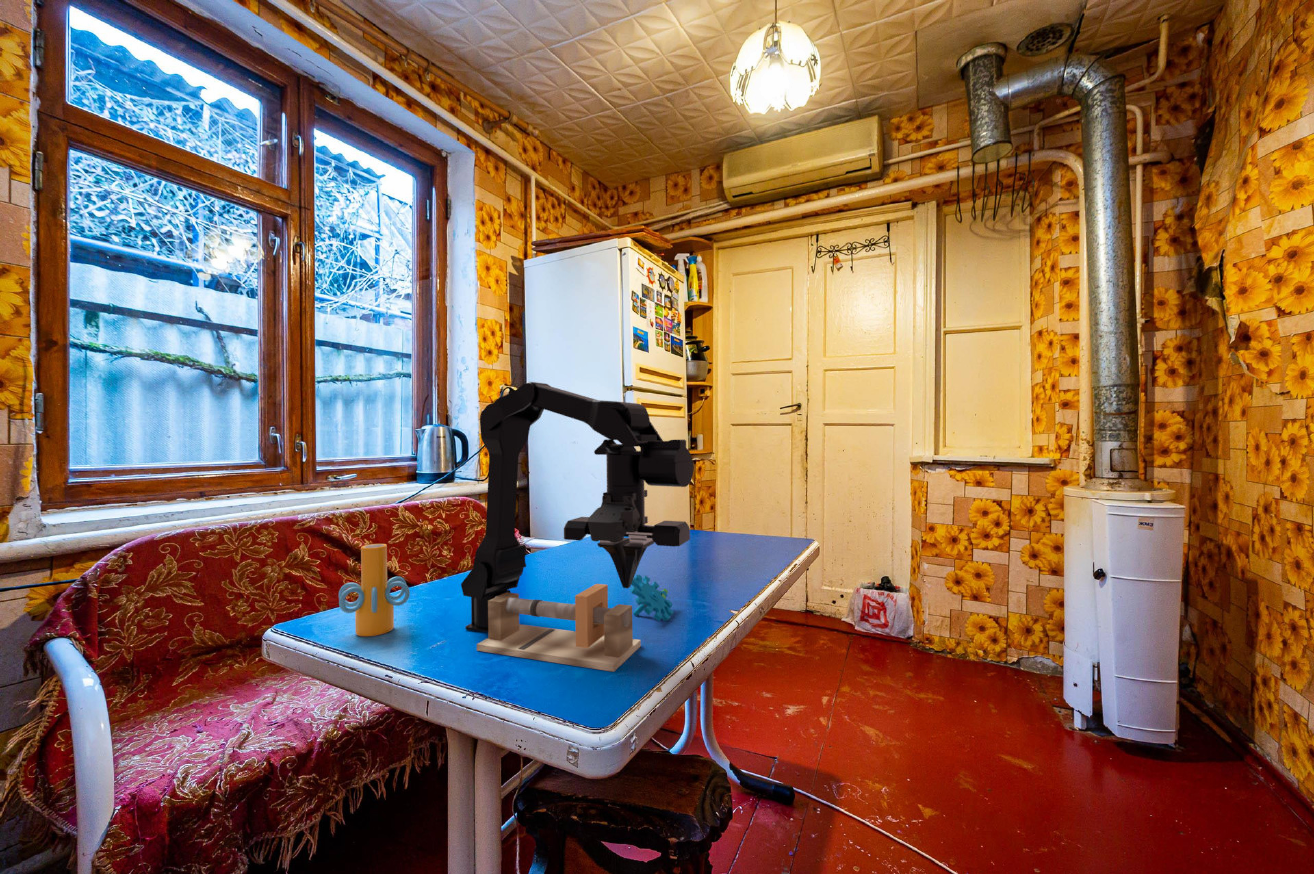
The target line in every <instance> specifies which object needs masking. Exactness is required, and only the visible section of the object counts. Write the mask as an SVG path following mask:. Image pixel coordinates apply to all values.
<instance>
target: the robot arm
mask: <svg viewBox="0 0 1314 874" xmlns="http://www.w3.org/2000/svg"><path fill="white" fill-rule="evenodd" d="M544 410H545V411H547V412H548V411H549V412H552V413H554V414H558V415H561V416H563V417H564V416H565V417H566V418H567V417H568V418H571V419H574V420H577V421H579V422H582V423H585V424H586V425H587V426H589V427H590V428H591V429H592V431H594V432H595V433H598V434H600V435H601V436H603V437H605V438H606V439H604V440H603V441H602V443H601V444H600V445H599V446H598V447H597V448H596V449H594V450H593V453H594V455H595V456H598V455H599V456H600V455H602V456H605V457H606V458H605V459H606V491H604V492H602V497H601V498H602V499H601V505H600V506H599V507H598V508H596V509H595V510H594V511H593V512H592V513H591V515H589V516H579V517H576V518H573V519H570V520H567V522H566V523H565V525H564V527H563V539H564V540H565V541H566V540H567V541H582V540H583V539H584V538H585V537H586V536H587V535H590V539H591V541H593V542H598V543H597V546H598V548H603V549H604V550H605V552H607V553H608V555H609V556H610V558H611V560H612V562H613V564H614V567H615V569H616V573H617V575H618V578H619V580H620V583H621V586H622V588H623V589H629V588H631V586H632V585H631V584H632V581H633V579H634V577H635V576H636V574H637V573H636V572H637V570H638V568H639V565H640V563H641V561H642V560H641V559H642V558H643V556H644V554H645V552H646V550H647V549H648V547H650V546H652V545H653V544H655V545H656V546H660V547H663V546H664V547H673V548H674V547H675V548H676V547H680V546H682V545H683V544H685V543H687V542H688V541H690V540H691V529H690V525H689V524H688V523H687V522H686V521H685V520H684V521H683V520H682V521H679V520H663V521H661V522H657V523H656V524H653V525H646V524H648V522H649V521H648V520H649V519H648V516H647V515H645V514H646V513H645V511H646V509H645V500H646V499H645V498H646V497H648V490H647V489H645V484H646V485H648V486H652V487H653V486H654V487H675V488H677V487H681V488H686V487H688V486H689V484H690V483H691V481H692V479H693V476H694V468H695V467H694V463H695V462H694V461H693V459H692V455H691V453H690V450H689V449H688V448H687V440H686V439H670V440H664V439H663V438H662V437H661V436H660V434H659V433H658V431H657V429H656V428H655V426H654V425H653V423H652V422H651V420H650V415H649V412H648V410H647V408H646V407H645V406H644V405H643V404H641V403H635V402H624V401H616V400H613V401H612V400H599V399H595V398H592V397H588V396H586V395H581V394H577V393H576V392H575V393H574V392H571V391H569V390H565V389H561V388H557V387H554V386H551V385H549V384H548V383H543V382H535V381H528V382H525V383H523V384H522V385H521V386H519V387H518V388H517V389H516V390H513V391H511V392H509V393H507V394H505V395H503V396H501V397H498V398H497V399H496V400H495V401H493V402H492V403H489V404H487V405H486V406H485V407H484V409H482V410H481V412H480V416H479V428H480V439H481V440H482V443H483V444H484V446H485V449H486V450H487V453H488V455H489V457H488V477H487V478H488V479H487V498H486V499H487V500H486V515H485V516H486V518H485V519H486V522H485V535H484V537H483V538H482V541H481V542H480V543H479V545H478V547H477V549H476V551H475V556H474V560H473V566H472V569H471V570H470V571H469V573H467V575H466V576H465V578H464V579H463V580H462V582H461V583H460V587H461V590H462V595H463V597H469V598H470V601H471V603H470V606H471V607H470V608H471V609H470V610H471V612H470V613H471V614H470V615H471V621H470V622H471V623H469V624H467V625H465V630H469V631H475V632H482V633H488V601H489V600H491V599H493V598H495V597H496V596H500V595H502V594H504V593H507V592H508V593H512V592H511V589H515V588H518V586H519V585H518V584H519V581H520V578H521V576H522V575H523V572H524V568H526V567H527V563H526V553H527V546H526V544H520V542H519V540H518V539H517V536H516V532H515V531H516V516H517V515H516V512H517V492H518V490H517V489H518V474H519V473H518V472H519V455H520V453H521V452H522V450H523V448H524V446H525V445H526V443H527V442H528V439H529V434H530V428H531V426H532V425H533V424H535V423H536V422H537V421H538V420H540V419H541V417H542V415H543V412H544ZM616 441H618V442H619V443H617V442H616ZM637 447H639V449H640V450H637V449H636V448H637Z"/></svg>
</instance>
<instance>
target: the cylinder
mask: <svg viewBox="0 0 1314 874" xmlns="http://www.w3.org/2000/svg"><path fill="white" fill-rule="evenodd" d="M387 545H388V544H386V543H373V544H372V543H371V544H366V545H362V546H361V547H360V552H361V553H360V560H361V561H360V565H361V569H360V570H361V574H360V577H361V585H360V584H359V583H356V582H346V583H345V584H343V585H342V586H341V587H340V588H339V591H338V605H339V608H340V610H341V611H342V612H344V613H346V614H352V613H355V618H354V620H355V624H354V625H355V627H354V628H355V630H354V631H355V634H356V635H357V636H358V637H375V636H380V635H383V634H384V635H385V634H386V633H388V632H391V631H392V630H394V628H395V622H394V621H395V620H394V619H395V615H394V614H395V612H394V610H395V609H394V606H403V605H404V604H406V603H407V601H408V600H409V599H410V597H411V592H410V588H409V586H408V585H407V582H406V580H405V578H404V577H401V576H394V577H391V578H389V579H388V549H387V548H388V546H387ZM395 587H401V590H400V591H399V593H398V594H396V595H391V590H392V589H393V588H395ZM351 593H357V594H358V597H357V599H356V600H355V601H351V602H350V601H348V600H347V599H346V597H347V596H348V595H349V594H351ZM402 597H403V598H402ZM401 598H402V599H401ZM400 599H401V600H400Z"/></svg>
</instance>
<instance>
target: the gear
mask: <svg viewBox="0 0 1314 874" xmlns="http://www.w3.org/2000/svg"><path fill="white" fill-rule="evenodd" d="M650 581H651V578H650V577H648V576H647V575H644V576H642V575H640V574H637V575H636V574H635V576H634V578H633V581H632V584H631V586H632V587H630V592H631V594H632V595H635V596H637V597H636V598H635V599H634V600H635V602H636V604H637V605H638V607H637V608H636V609H634V611H632V615H634V616H635V617H638V616H639V615H640V614H641V613H642V612H643V611H644V613H645V614H646V615H647V616H649V615H651V614H652V613H653V612H654V613H655V614H654V615H653V618H654V619H655V620H657V621H658V622H660V621H661V620H663V621H664V622H667V621H669V620H670V619H671V617H672V615H673V614H674V613H675V612H674V611H673V610H672V609H671V608H672V606H673V602H672V601H671V600H668V599H667V596H668V593H669V591H668V589H667V588H663V589H662V590H661V591H660V590H658V588H659V587H660V585H659V584H658V583H657V581H654V582H652V584H650V583H649V582H650Z"/></svg>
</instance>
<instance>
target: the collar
mask: <svg viewBox="0 0 1314 874" xmlns="http://www.w3.org/2000/svg"><path fill="white" fill-rule="evenodd" d="M608 587H609V586H608V584H603V583H595V584H594V585H592V586H590V587H588V588H586V589H585V590H583V591H581V592H579V593H577V594H576V595H575V596H574V604H575V621H574V622H575V631H576V647H583V648H588V647H590V646H591V645H592V644H594V643H595V642H596V641H597V640H599V639H600V638H601V637H603V636H604V624H598V623H593V608H594V607H603V608H609V599H608V598H609V594H608V593H609V591H608V590H609V589H608Z"/></svg>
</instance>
